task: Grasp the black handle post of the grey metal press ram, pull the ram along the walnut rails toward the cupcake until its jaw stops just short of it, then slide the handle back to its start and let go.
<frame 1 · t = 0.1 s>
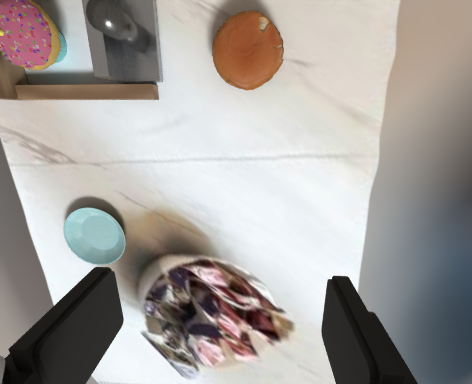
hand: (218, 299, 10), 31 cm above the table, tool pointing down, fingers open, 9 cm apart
burger: (247, 55, 35), on the table
press bed: (76, 43, 36), on the table
cupcake: (53, 44, 37), resting in press bed
saucer: (102, 231, 47), on the table
ram: (117, 29, 31), point 5 cm above the table, slide at 0.0 cm
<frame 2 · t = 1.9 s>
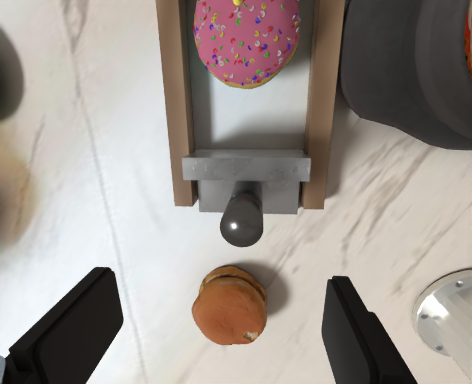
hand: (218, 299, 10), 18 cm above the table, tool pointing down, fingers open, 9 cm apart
burger: (233, 294, 33), on the table
press bed: (248, 89, 25), on the table
cupcake: (248, 45, 24), resting in press bed
ram: (245, 194, 22), point 5 cm above the table, slide at 0.0 cm
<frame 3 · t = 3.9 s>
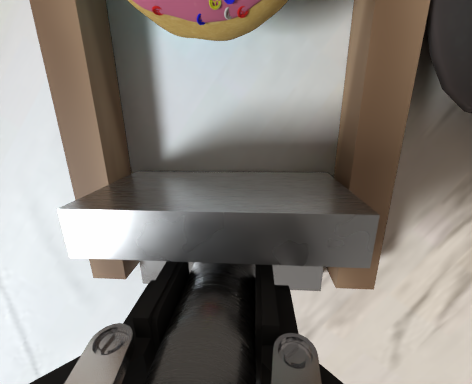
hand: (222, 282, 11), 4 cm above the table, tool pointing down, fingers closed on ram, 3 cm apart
press bed: (226, 55, 12), on the table
ram: (217, 281, 10), point 5 cm above the table, slide at 0.0 cm, touching gripper
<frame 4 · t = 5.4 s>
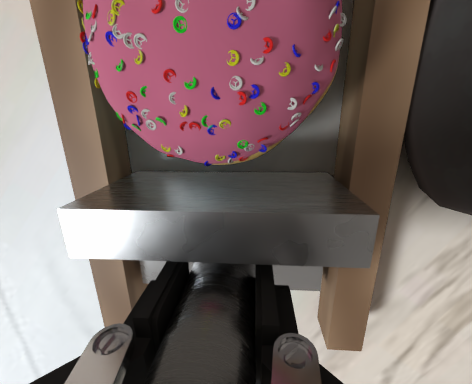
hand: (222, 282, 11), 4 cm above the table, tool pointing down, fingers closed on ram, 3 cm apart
press bed: (228, 144, 14), on the table
cupcake: (227, 67, 13), resting in press bed
ram: (217, 281, 10), point 5 cm above the table, slide at 4.5 cm, touching gripper
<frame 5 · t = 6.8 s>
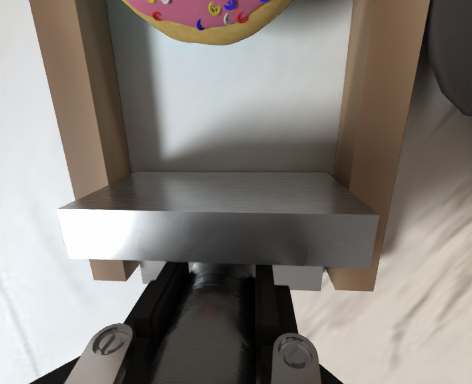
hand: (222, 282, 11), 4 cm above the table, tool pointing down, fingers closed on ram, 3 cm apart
press bed: (226, 58, 12), on the table
ram: (217, 281, 10), point 5 cm above the table, slide at 0.1 cm, touching gripper
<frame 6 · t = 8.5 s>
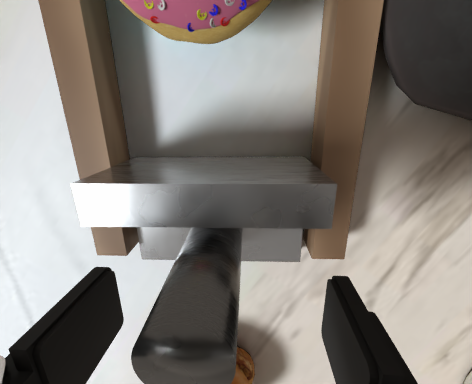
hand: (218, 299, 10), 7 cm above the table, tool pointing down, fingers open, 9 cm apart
burger: (206, 362, 23), on the table
press bed: (214, 55, 14), on the table
ram: (208, 246, 12), point 5 cm above the table, slide at 0.1 cm
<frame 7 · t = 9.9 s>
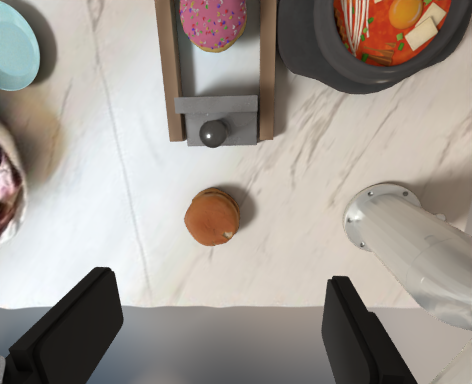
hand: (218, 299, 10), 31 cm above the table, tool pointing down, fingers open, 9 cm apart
burger: (215, 212, 44), on the table
press bed: (219, 56, 35), on the table
cupcake: (218, 25, 34), resting in press bed
saucer: (14, 50, 37), on the table
casserole: (363, 23, 33), on the table
ram: (217, 123, 33), point 5 cm above the table, slide at 0.1 cm
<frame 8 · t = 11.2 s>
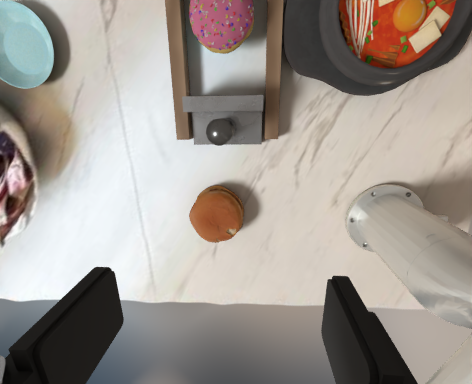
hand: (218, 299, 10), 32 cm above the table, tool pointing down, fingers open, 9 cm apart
burger: (219, 210, 45), on the table
press bed: (226, 57, 36), on the table
cupcake: (225, 27, 35), resting in press bed
saucer: (29, 50, 39), on the table
casserole: (368, 26, 34), on the table
ram: (223, 122, 34), point 5 cm above the table, slide at 0.1 cm
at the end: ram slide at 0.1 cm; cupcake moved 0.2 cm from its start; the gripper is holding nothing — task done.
